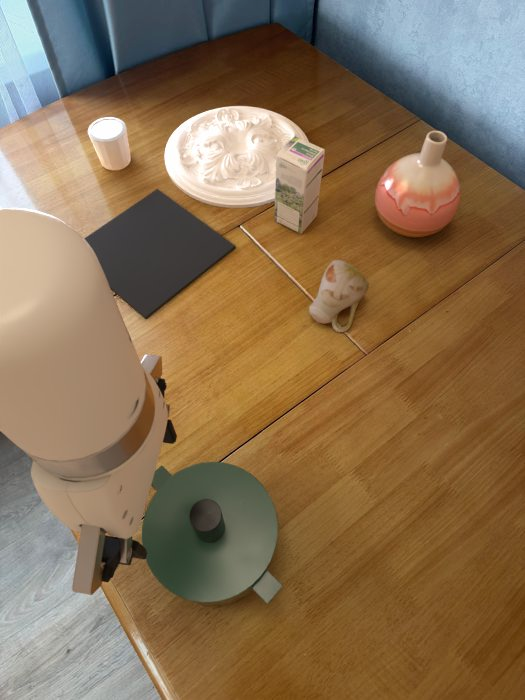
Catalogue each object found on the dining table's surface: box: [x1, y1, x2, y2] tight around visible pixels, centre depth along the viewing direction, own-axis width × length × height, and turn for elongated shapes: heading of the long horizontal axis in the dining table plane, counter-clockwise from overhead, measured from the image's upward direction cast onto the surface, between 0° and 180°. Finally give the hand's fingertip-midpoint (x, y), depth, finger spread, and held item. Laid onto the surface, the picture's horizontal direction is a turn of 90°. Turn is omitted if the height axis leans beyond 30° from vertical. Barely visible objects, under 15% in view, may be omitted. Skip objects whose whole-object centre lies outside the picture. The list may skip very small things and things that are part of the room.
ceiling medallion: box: [164, 105, 310, 209], centre depth 100 cm, size 28×28×3 cm
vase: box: [374, 130, 462, 238], centre depth 85 cm, size 14×14×18 cm
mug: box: [308, 259, 370, 333], centre depth 81 cm, size 8×10×10 cm
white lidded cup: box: [87, 116, 132, 171], centre depth 98 cm, size 7×7×7 cm
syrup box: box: [274, 136, 326, 235], centre depth 87 cm, size 6×6×14 cm
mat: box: [83, 188, 237, 320], centre depth 89 cm, size 20×20×1 cm
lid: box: [141, 461, 279, 603], centre depth 55 cm, size 15×15×7 cm
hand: (144, 492), depth 44 cm, fingers open, 9 cm apart
